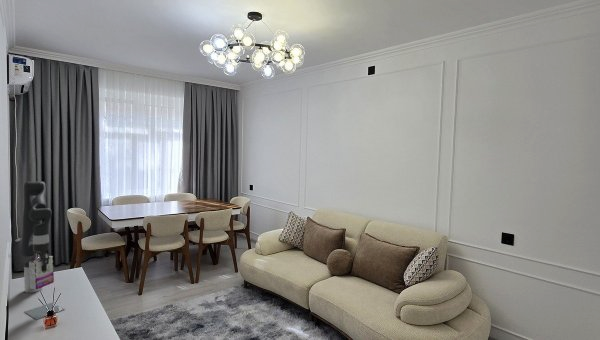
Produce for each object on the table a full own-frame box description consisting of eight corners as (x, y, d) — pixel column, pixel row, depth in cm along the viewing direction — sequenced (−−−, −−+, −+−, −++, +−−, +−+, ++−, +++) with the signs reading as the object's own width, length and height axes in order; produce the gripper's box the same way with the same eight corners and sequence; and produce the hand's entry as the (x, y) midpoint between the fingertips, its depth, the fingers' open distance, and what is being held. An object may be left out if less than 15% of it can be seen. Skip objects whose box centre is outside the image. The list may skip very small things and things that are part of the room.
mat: (24, 312, 192) (24, 311, 192) (51, 303, 204) (51, 302, 204) (36, 319, 184) (36, 319, 184) (64, 309, 196) (64, 309, 196)
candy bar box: (47, 281, 201) (46, 255, 200) (54, 282, 200) (53, 256, 199) (28, 289, 190) (28, 261, 189) (35, 290, 189) (35, 262, 188)
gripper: (28, 241, 194) (28, 269, 195) (39, 245, 187) (39, 274, 188) (43, 238, 200) (43, 265, 201) (54, 242, 193) (54, 270, 194)
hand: (41, 269), depth 194 cm, fingers closed on candy bar box, 6 cm apart
